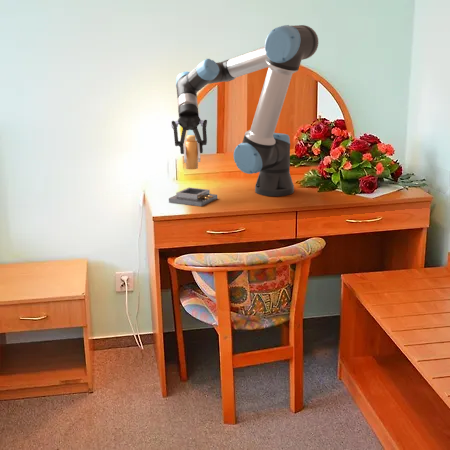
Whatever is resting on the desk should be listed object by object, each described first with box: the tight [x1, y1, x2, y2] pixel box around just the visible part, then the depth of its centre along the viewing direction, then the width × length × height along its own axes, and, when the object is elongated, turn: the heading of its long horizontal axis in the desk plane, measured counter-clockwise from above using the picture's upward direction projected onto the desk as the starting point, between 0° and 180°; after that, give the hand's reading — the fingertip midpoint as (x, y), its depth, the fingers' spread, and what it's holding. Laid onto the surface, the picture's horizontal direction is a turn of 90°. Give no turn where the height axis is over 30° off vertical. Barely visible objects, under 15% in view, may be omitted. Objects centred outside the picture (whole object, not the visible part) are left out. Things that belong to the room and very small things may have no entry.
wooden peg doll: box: [184, 134, 199, 170], centre depth 243 cm, size 4×4×12 cm
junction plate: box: [168, 187, 218, 207], centre depth 248 cm, size 14×12×4 cm
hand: (192, 160), depth 240 cm, fingers closed on wooden peg doll, 4 cm apart
